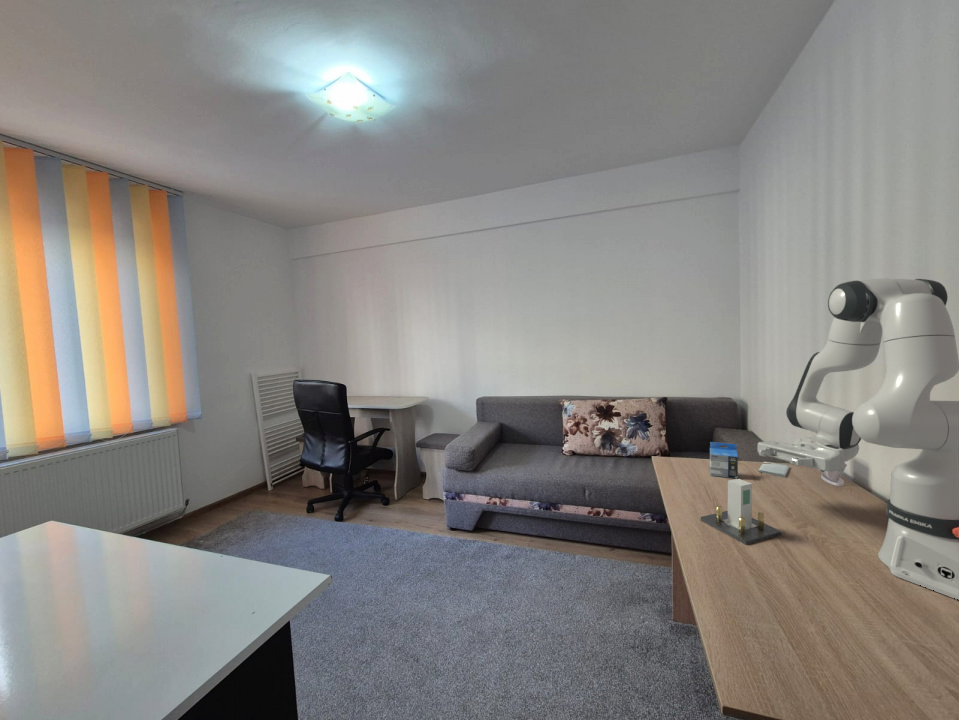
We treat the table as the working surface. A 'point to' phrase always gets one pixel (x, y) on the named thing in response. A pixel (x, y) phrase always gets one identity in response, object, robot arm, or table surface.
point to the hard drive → (774, 469)
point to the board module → (739, 501)
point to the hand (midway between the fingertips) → (777, 457)
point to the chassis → (741, 527)
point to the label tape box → (723, 460)
